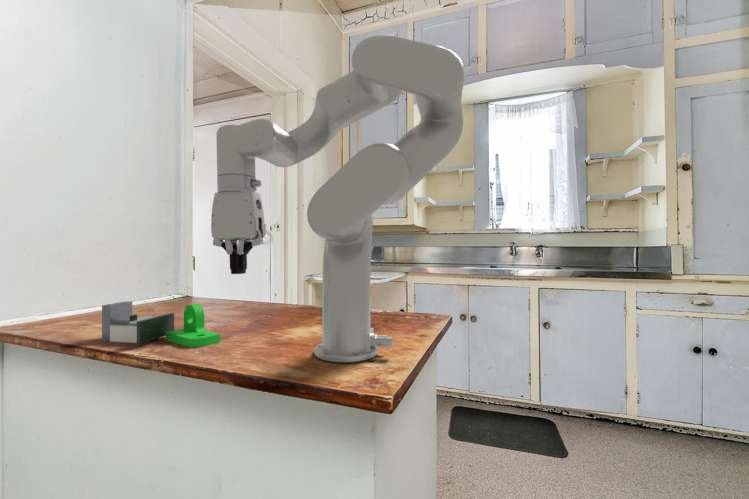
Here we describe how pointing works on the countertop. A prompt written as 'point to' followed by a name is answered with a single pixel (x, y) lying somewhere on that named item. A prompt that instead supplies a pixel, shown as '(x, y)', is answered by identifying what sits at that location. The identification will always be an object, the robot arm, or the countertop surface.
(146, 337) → the dark green piece
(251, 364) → the countertop surface
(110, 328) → the gauge housing
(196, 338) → the mechanical part
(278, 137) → the robot arm
